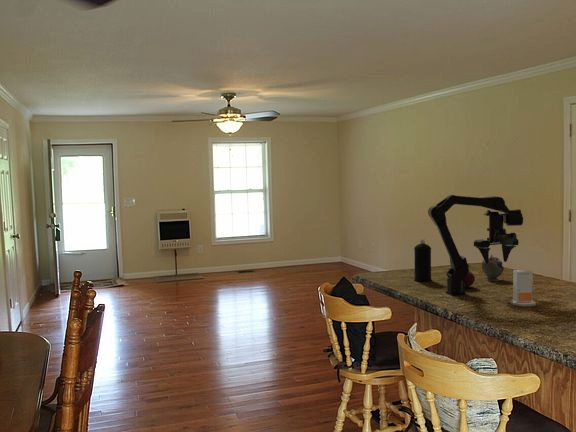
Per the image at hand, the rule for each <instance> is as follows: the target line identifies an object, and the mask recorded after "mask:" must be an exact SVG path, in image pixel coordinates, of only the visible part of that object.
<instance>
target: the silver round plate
mask: <svg viewBox="0 0 576 432" xmlns="http://www.w3.org/2000/svg"><path fill="white" fill-rule="evenodd" d="M510 305H511V306H514V307H519V308H533V307H536V305H537V302H536V301H535V300H533V299H532V302H516V301H514V300H513V299H511V300H510Z"/></svg>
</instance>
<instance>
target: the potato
mask: <svg viewBox="0 0 576 432" xmlns="http://www.w3.org/2000/svg"><path fill="white" fill-rule="evenodd" d="M447 279H449V278H448V277H447ZM475 280H476V277H475V275H474V274H473V272H472V271H470V270H469V272H468V274H467V275H466V276H465V278H464V283H465V288H467V287H470V286H473V284H474V283H475Z"/></svg>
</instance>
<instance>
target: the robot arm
mask: <svg viewBox="0 0 576 432" xmlns="http://www.w3.org/2000/svg"><path fill="white" fill-rule="evenodd" d="M454 205H460V206H474V207H481V208H484V209H485V208H486V209H487V210H486V211H485V212H484V213H483V215H484V216H485V217H486V216H487V217H488V227H487V228H486V231H487V232H488V237H486V239H483V238H482V239H475V240H474V242H473V247H475V248H476V249H478V251H479V252H480V254H481V256H482V258H483V260H485V262H486V263H487V264H488V261H489V256H490V255H489V253H490V250H491V247H490V246H495V245H501V249H502V250H501V251H502V258H503V262H505V263H506V262H508V259H509V256H510V253H511V252H512V250H513V249H514V248H516V247H517V246H519V242H520V241H519V239H518V238H517V233H515V232H510V233H507V229H506V228H504V224H505V225H506V226H507V227H513V226H514V227H515V226H517V227H518V226H519V227H520V226H522V225H523V224H524V216H523V213H522V209H509V207H508V206H507V205H506V201H505V199H504V198H503V197H501V196H496V195H493V196H492V195H491V196H483V197H478V196H477V197H475V196H464V195H454V194H449V195H447V196H446V197H445V198H444V199H442V200H441V201H439V202H437V204H435V205H431V206H429V208H428V209H427V215H428V216H429V218H430V220H431V221H432V222H433V224H434V225H435V226H436V228H437V231H438V232H439V235H440V237H441V240H442V242H443V244H444V246H445V249H446V251H447V253H448V256H449V264H450V269H449V270H448V271H446V276H447V279H446V290H445V293H446V294H448V295H451V296H459V295H466V294H467V292H465V291H466V290H465V289H466V287H465V283H464V278H465V276H466V275H467V274H468V272H469V271H470V269H469V268H470V265H469V264H468V261H467V257H465V256H463V255H460V253H459V250H458V248H457V246H456V244H455V242H454V239H453V236H452V234H451V232H450V229H449V227H448V225H447V217H446V213H447V212H448V211H449V210H450V209H451V208H452V207H453V206H454ZM491 210H494V211H491ZM499 212H500V213H499ZM448 278H449V279H448Z"/></svg>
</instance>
